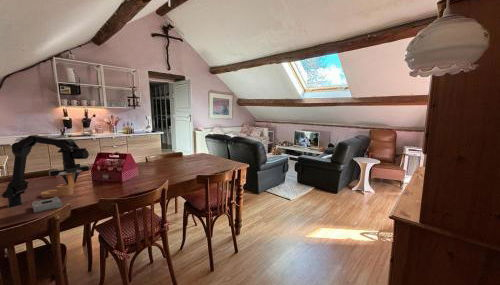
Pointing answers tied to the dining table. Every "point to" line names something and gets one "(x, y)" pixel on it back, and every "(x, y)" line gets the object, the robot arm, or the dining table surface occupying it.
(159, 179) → the dining table surface
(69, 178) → the wedge pin
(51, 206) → the grey slotted block
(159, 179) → the dining table surface
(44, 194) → the wooden mallet
